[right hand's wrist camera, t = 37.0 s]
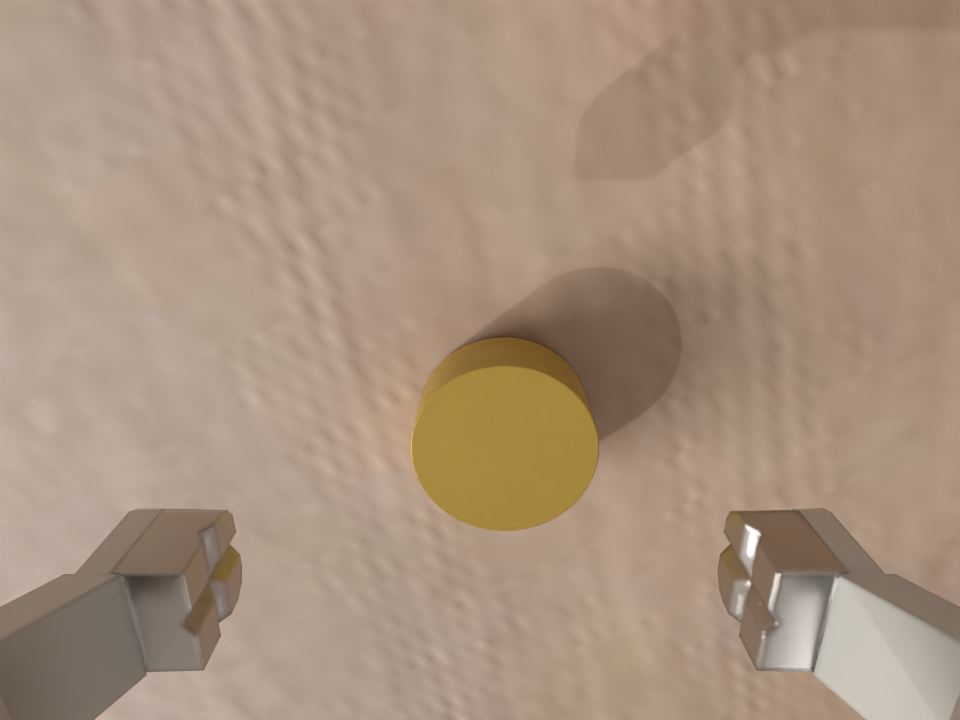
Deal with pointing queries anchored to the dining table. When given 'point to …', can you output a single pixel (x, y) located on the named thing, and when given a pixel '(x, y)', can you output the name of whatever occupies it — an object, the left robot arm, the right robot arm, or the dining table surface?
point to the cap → (504, 435)
